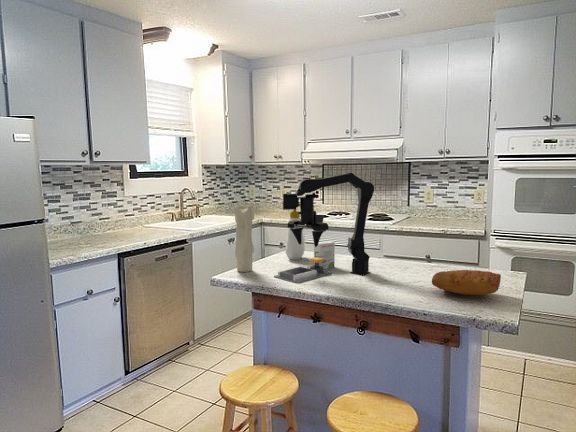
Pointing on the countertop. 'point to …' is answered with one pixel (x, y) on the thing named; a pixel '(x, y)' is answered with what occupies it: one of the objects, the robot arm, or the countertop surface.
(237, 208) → the vase
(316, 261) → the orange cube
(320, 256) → the ink box
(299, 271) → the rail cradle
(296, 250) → the soap bottle
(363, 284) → the countertop surface
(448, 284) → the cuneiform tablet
